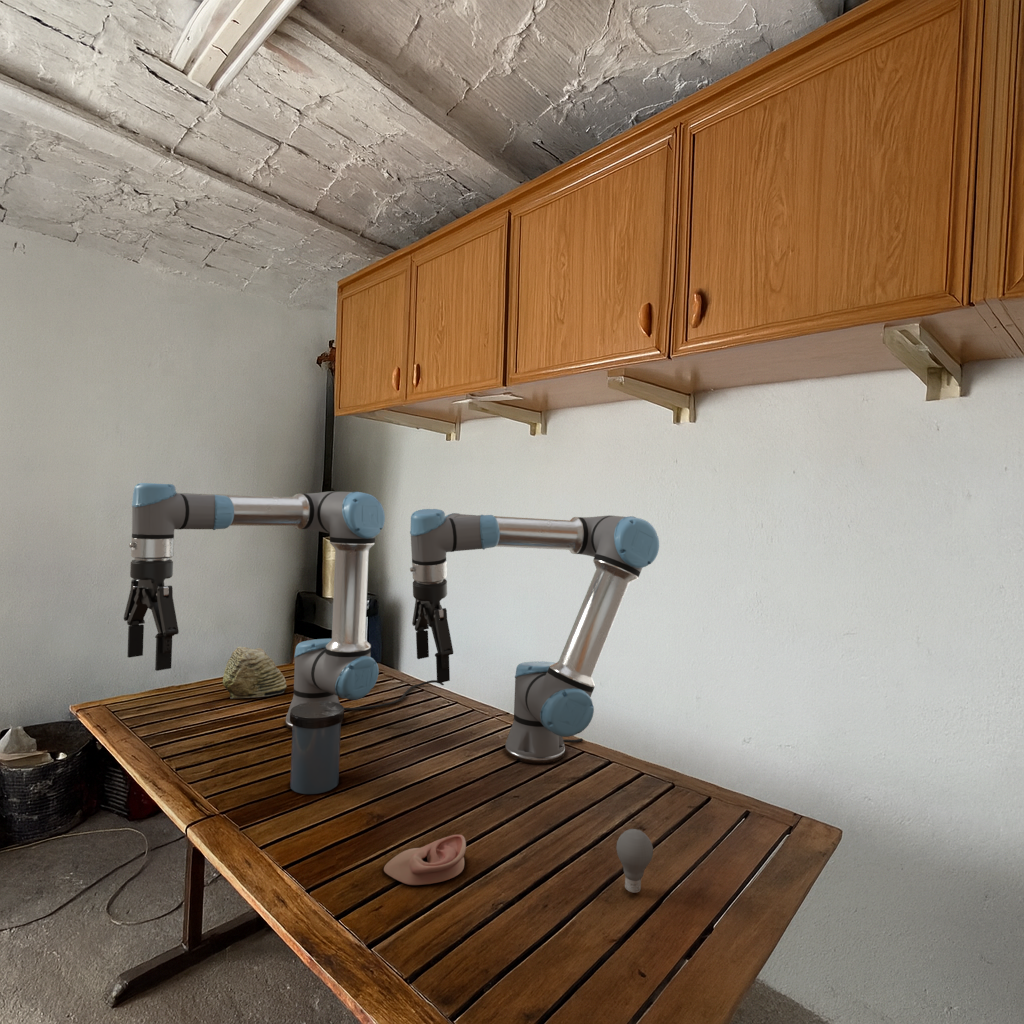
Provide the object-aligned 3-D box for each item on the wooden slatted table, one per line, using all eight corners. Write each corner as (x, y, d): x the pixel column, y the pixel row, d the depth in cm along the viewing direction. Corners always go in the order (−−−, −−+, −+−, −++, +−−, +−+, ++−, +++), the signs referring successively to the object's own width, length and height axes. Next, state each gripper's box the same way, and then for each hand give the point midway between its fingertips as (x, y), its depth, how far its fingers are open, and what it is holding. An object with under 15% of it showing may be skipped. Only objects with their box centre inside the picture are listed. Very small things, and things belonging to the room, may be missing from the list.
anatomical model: (377, 856, 105) (402, 822, 117) (376, 879, 106) (401, 843, 117) (453, 868, 103) (472, 833, 114) (452, 892, 103) (471, 854, 114)
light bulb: (610, 879, 108) (613, 822, 108) (644, 879, 109) (647, 822, 109) (619, 902, 102) (622, 840, 102) (655, 901, 103) (658, 840, 103)
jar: (320, 769, 147) (322, 700, 147) (348, 783, 141) (351, 711, 140) (280, 784, 139) (283, 711, 138) (308, 799, 133) (311, 722, 132)
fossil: (218, 695, 195) (220, 647, 195) (278, 685, 208) (279, 640, 207) (228, 703, 189) (230, 653, 188) (289, 692, 201) (290, 645, 201)
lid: (323, 707, 147) (323, 697, 147) (354, 719, 141) (354, 709, 140) (279, 719, 138) (279, 709, 138) (310, 732, 132) (310, 722, 131)
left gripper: (108, 554, 134) (104, 654, 134) (159, 565, 118) (155, 678, 119) (146, 552, 140) (143, 648, 140) (199, 563, 124) (195, 671, 124)
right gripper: (396, 567, 149) (400, 651, 153) (432, 599, 127) (436, 696, 131) (427, 563, 152) (429, 645, 156) (467, 593, 130) (469, 688, 135)
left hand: (148, 662), depth 129 cm, fingers open, 13 cm apart
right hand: (432, 669), depth 144 cm, fingers open, 13 cm apart
